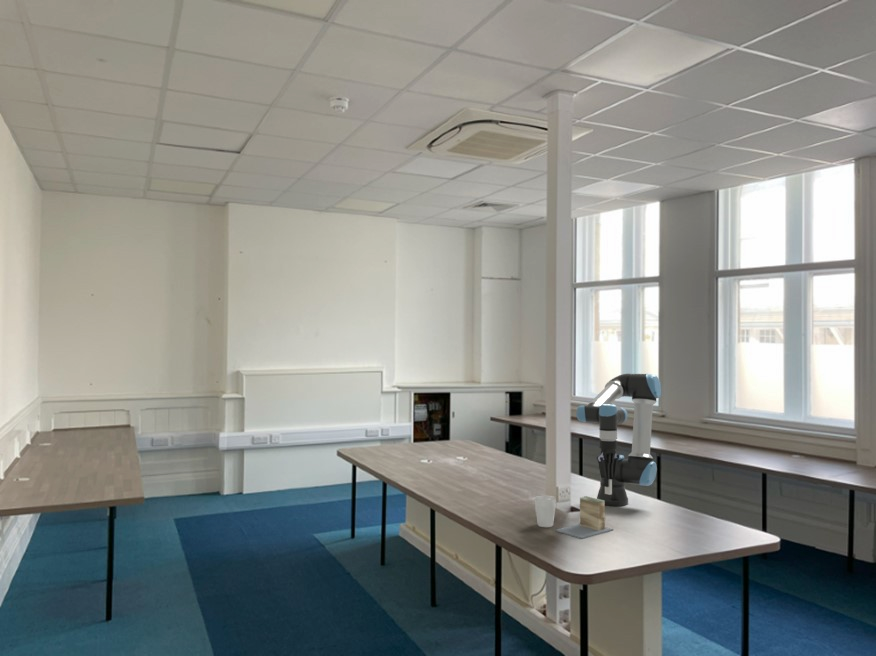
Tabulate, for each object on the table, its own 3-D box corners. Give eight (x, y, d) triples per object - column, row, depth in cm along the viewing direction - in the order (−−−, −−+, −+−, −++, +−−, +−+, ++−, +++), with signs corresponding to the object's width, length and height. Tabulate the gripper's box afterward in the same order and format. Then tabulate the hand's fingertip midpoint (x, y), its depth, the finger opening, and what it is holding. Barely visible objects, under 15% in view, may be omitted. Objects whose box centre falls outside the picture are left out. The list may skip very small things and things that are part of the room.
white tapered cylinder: (556, 523, 291) (556, 495, 291) (554, 528, 282) (554, 500, 283) (536, 521, 293) (536, 494, 294) (533, 527, 285) (533, 499, 285)
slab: (586, 523, 288) (586, 496, 288) (604, 529, 280) (604, 500, 280) (580, 525, 285) (579, 497, 285) (598, 530, 277) (598, 501, 277)
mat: (587, 523, 291) (587, 521, 291) (613, 530, 280) (613, 528, 280) (556, 531, 279) (555, 529, 279) (581, 538, 268) (581, 537, 268)
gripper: (610, 437, 297) (610, 490, 296) (591, 440, 289) (591, 494, 288) (624, 439, 291) (624, 493, 290) (605, 442, 283) (605, 497, 282)
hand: (608, 493), depth 289 cm, fingers closed
